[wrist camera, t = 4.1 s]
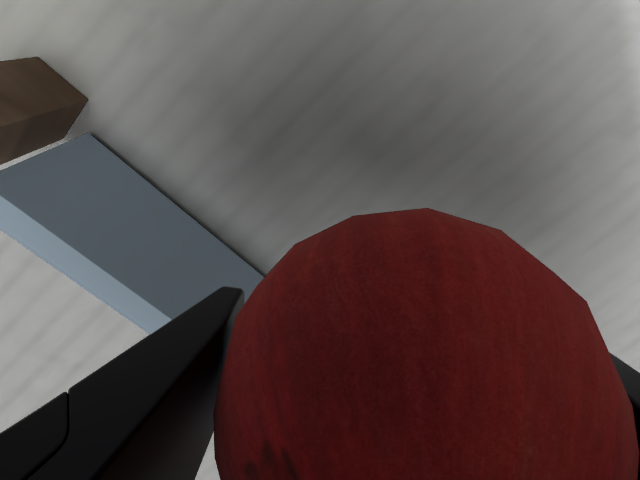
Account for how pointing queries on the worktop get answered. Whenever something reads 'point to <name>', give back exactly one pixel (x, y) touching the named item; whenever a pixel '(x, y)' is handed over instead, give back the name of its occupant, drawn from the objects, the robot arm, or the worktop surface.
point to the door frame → (34, 107)
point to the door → (115, 233)
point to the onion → (419, 363)
